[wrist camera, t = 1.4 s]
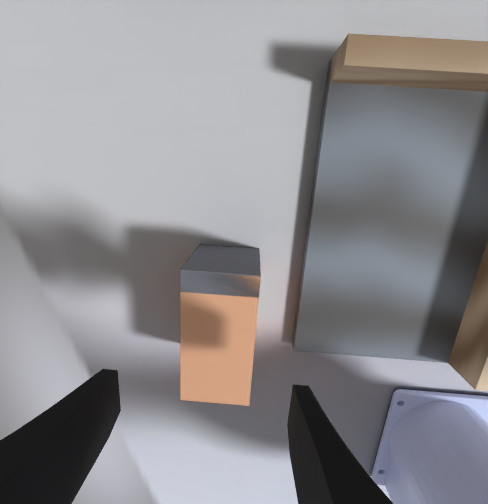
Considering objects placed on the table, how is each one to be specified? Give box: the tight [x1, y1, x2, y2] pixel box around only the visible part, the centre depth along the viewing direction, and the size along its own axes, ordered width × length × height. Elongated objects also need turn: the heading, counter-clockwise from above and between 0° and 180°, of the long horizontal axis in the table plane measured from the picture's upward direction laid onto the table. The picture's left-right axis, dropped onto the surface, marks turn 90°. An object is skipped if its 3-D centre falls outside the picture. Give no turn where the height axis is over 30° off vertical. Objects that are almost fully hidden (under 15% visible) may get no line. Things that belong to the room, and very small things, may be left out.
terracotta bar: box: [180, 244, 261, 406], centre depth 17 cm, size 8×4×5 cm, turn 176°
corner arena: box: [292, 34, 488, 391], centre depth 16 cm, size 18×12×3 cm, turn 176°
